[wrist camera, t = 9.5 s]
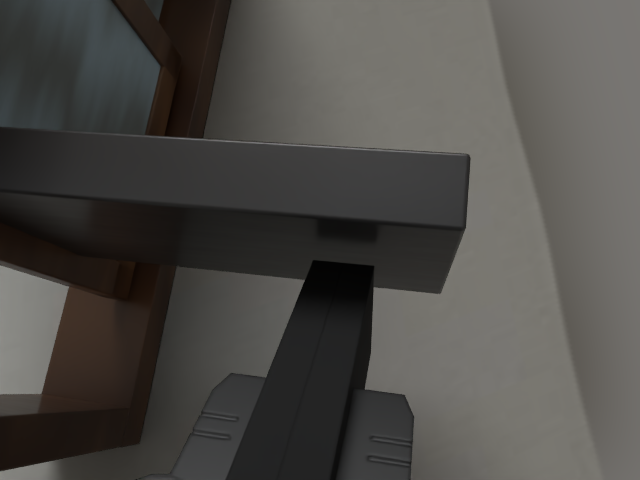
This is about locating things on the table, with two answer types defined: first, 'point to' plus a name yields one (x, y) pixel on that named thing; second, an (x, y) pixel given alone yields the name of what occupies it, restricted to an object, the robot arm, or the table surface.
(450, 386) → the table surface
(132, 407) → the window frame
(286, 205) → the sliding pane
